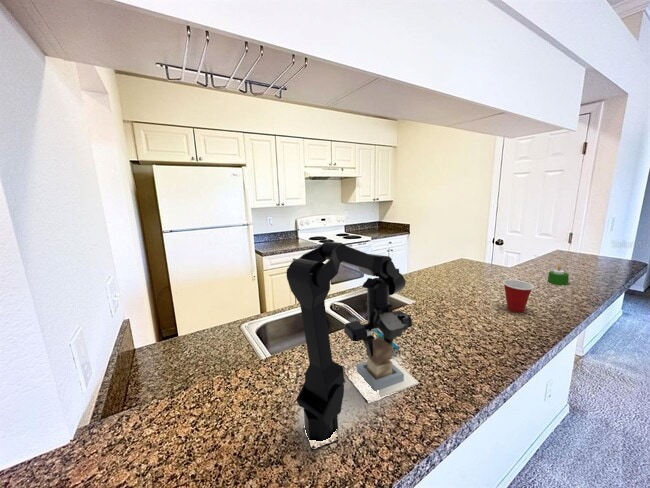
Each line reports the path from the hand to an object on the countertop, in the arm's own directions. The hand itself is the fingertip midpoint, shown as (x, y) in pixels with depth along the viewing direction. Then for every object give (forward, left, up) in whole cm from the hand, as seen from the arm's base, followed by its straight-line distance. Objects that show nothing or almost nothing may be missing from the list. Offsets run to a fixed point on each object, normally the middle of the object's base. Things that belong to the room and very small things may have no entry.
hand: (379, 353), depth 76 cm
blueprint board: (0, 0, -8) cm, 8 cm away
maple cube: (0, 0, -7) cm, 7 cm away
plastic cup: (+77, +12, -8) cm, 78 cm away
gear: (+11, +12, -8) cm, 18 cm away
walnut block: (0, 0, -1) cm, 1 cm away
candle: (+129, +24, -8) cm, 132 cm away
